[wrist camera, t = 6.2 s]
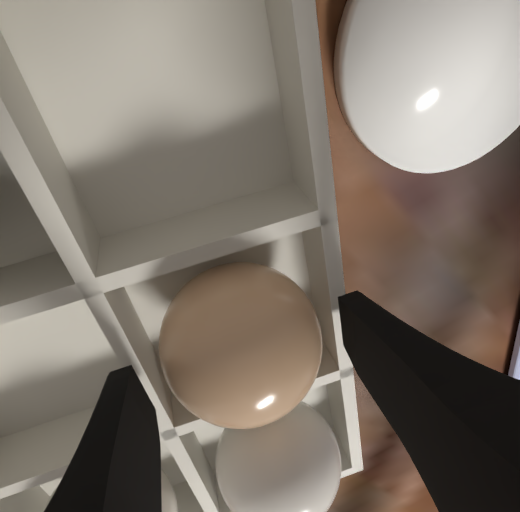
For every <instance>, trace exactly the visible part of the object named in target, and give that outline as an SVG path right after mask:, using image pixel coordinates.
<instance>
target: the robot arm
mask: <svg viewBox="0 0 520 512" xmlns="http://www.w3.org/2000/svg"><path fill="white" fill-rule="evenodd" d="M338 304H339V313H340V321H341V330H342V339H343V346H344V348H345V350H346V352H347V354H348V356H349V358H350V360H351V362H352V364H353V366H354V368H355V370H356V372H357V374H358V376H359V377H360V379H361V380H362V382H363V383H364V385H365V387H366V388H367V390H368V391H369V393H370V394H371V396H372V397H373V399H374V400H375V402H376V403H377V405H378V406H379V408H380V409H381V411H382V412H383V414H384V416H385V417H386V419H387V420H388V422H389V423H390V425H391V426H392V428H393V429H394V431H395V432H396V434H397V435H398V437H399V438H400V440H401V442H402V443H403V445H404V447H405V448H406V450H407V452H408V453H409V455H410V457H411V459H412V461H413V463H414V464H415V466H416V468H417V470H418V472H419V474H420V476H421V478H422V480H423V481H424V483H425V485H426V487H427V489H428V491H429V493H430V495H431V497H432V499H433V501H434V503H435V505H436V507H437V509H438V510H439V512H520V321H519V326H518V330H517V335H516V340H515V345H514V349H513V354H512V359H511V363H510V368H509V373H508V375H505V374H503V373H500V372H498V371H495V370H493V369H491V368H488V367H486V366H484V365H482V364H480V363H478V362H475V361H473V360H471V359H469V358H467V357H465V356H463V355H461V354H459V353H457V352H455V351H453V350H451V349H449V348H447V347H446V346H444V345H442V344H440V343H438V342H437V341H435V340H433V339H431V338H429V337H428V336H426V335H424V334H423V333H421V332H419V331H418V330H416V329H414V328H413V327H411V326H410V325H408V324H406V323H405V322H403V321H402V320H400V319H398V318H397V317H395V316H394V315H392V314H391V313H389V312H388V311H386V310H385V309H383V308H382V307H381V306H379V305H378V304H376V303H375V302H373V301H372V300H370V299H369V298H368V297H366V296H365V295H363V294H362V293H360V292H359V291H354V292H351V293H348V294H345V295H342V296H339V297H338ZM44 512H162V497H161V444H160V436H159V428H158V422H157V415H156V409H155V407H154V405H153V404H152V402H151V400H150V398H149V396H148V394H147V393H146V391H145V389H144V387H143V385H142V383H141V382H140V380H139V378H138V376H137V374H136V372H135V370H134V369H133V367H132V365H129V366H126V367H123V368H120V369H117V370H114V371H111V372H110V373H109V374H108V376H107V378H106V381H105V383H104V386H103V389H102V391H101V394H100V396H99V399H98V401H97V404H96V406H95V408H94V411H93V413H92V416H91V418H90V420H89V423H88V425H87V427H86V429H85V432H84V434H83V436H82V438H81V441H80V443H79V445H78V447H77V449H76V451H75V454H74V456H73V458H72V460H71V462H70V464H69V466H68V468H67V470H66V472H65V474H64V476H63V478H62V480H61V482H60V483H59V485H58V487H57V489H56V491H55V493H54V495H53V496H52V498H51V500H50V502H49V503H48V505H47V507H46V509H45V510H44Z"/></svg>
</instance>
